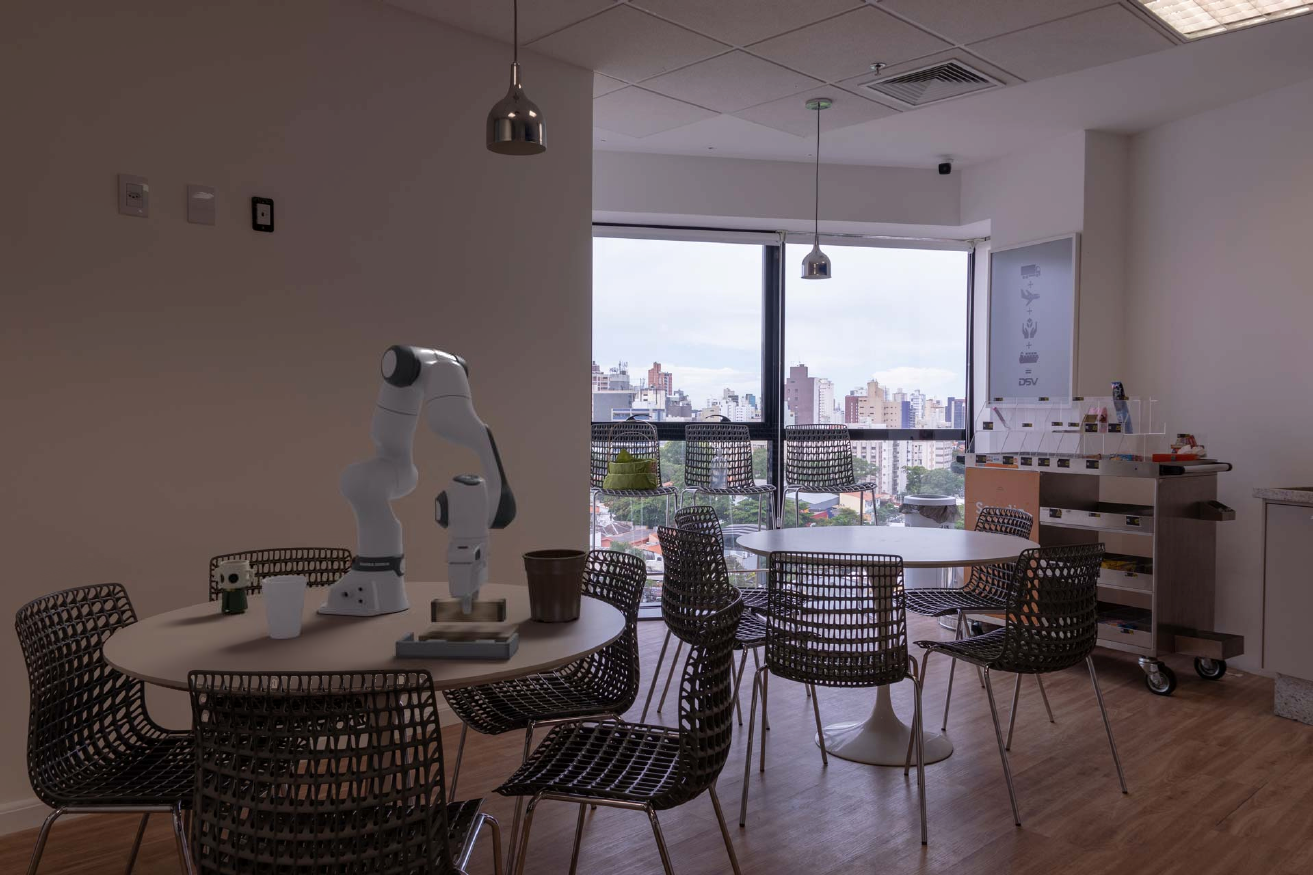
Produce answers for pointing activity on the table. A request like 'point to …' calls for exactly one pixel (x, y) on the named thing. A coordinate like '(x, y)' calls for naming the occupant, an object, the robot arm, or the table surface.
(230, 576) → the character mug
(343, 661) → the table surface
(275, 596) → the foam cup
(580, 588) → the plant pot
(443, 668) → the table surface
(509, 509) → the robot arm
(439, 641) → the tile
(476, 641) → the tile
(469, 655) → the tray
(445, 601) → the brown wooden block
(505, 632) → the board
